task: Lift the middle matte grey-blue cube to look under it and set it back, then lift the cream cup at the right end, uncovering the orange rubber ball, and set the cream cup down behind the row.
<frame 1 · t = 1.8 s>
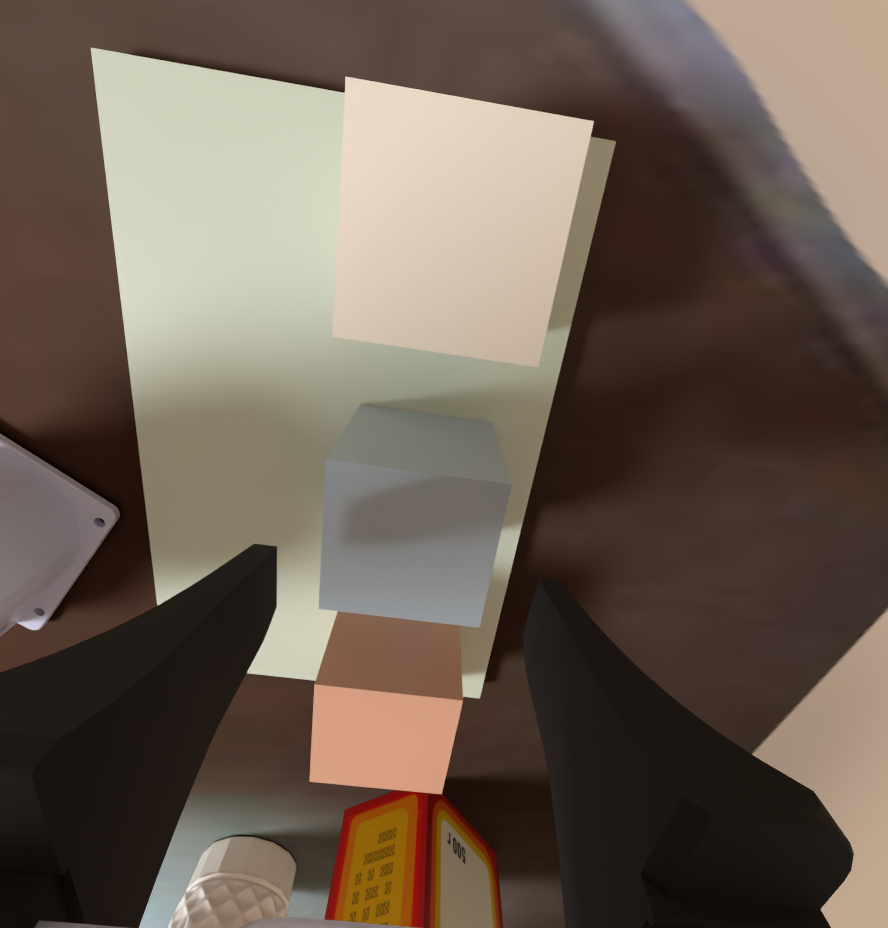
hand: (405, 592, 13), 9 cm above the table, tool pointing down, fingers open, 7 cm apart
terracotta cup: (397, 632, 24), point 1 cm above the table, touching sage board
cream cup: (450, 248, 17), point 1 cm above the table, touching sage board
baking soda box: (423, 829, 32), on the table
sage board: (343, 453, 21), on the table
matte grey-blue cube: (419, 473, 20), point 1 cm above the table, touching sage board
white cup: (251, 859, 34), on the table
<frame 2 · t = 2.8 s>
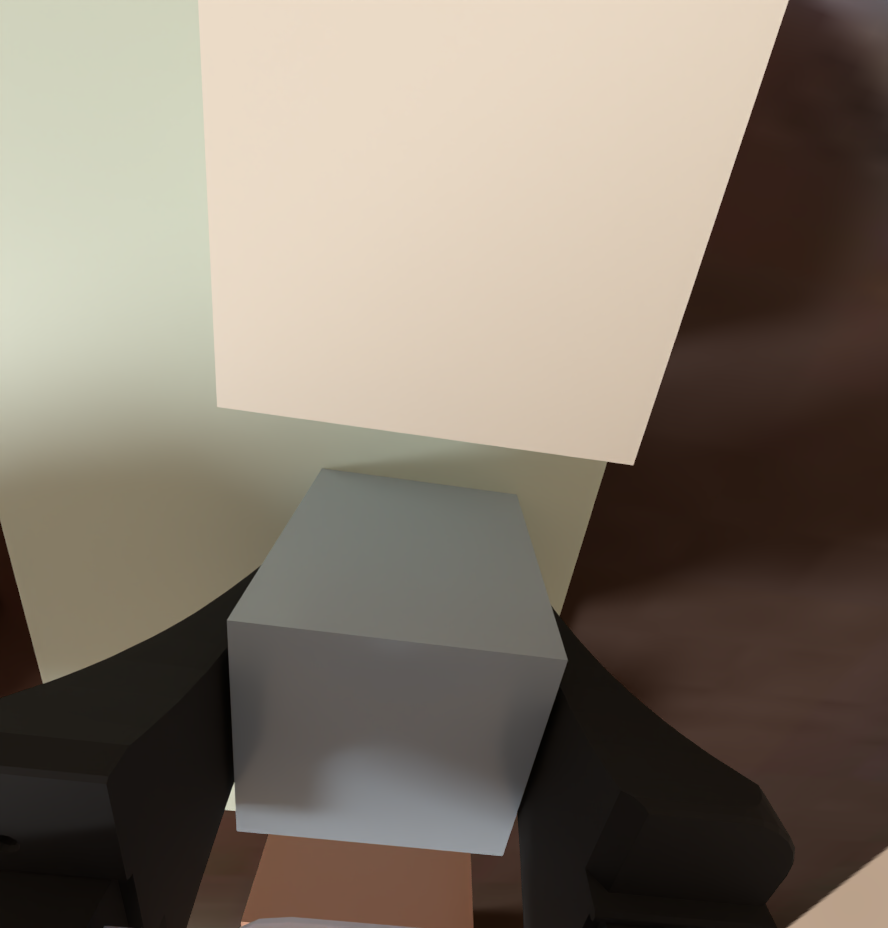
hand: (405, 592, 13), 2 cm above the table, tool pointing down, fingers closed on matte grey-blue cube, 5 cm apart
terracotta cup: (381, 759, 17), point 1 cm above the table, touching sage board
cream cup: (455, 235, 11), point 1 cm above the table, touching sage board
sage board: (302, 530, 15), on the table
matte grey-blue cube: (409, 562, 14), point 1 cm above the table, touching gripper, sage board
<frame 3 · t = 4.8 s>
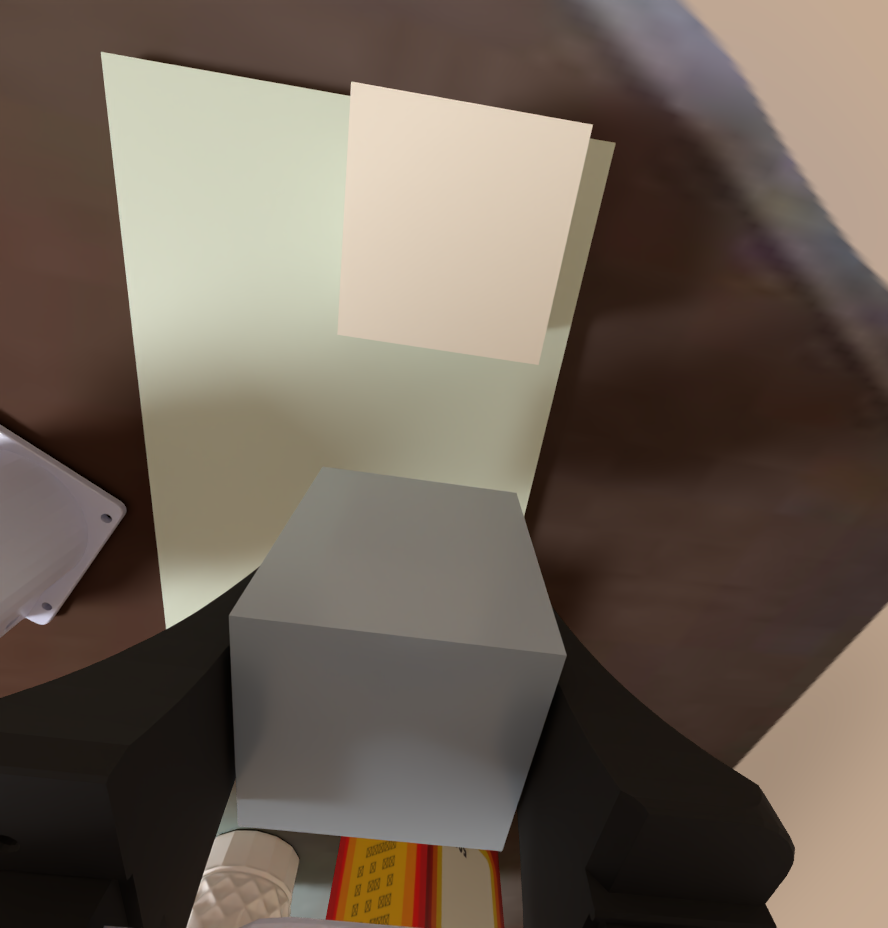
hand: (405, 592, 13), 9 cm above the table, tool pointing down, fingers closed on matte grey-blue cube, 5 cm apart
cream cup: (452, 248, 17), point 1 cm above the table, touching sage board
baking soda box: (424, 823, 32), on the table
sage board: (346, 450, 21), on the table
matte grey-blue cube: (409, 560, 14), point 8 cm above the table, touching gripper
white cup: (254, 853, 34), on the table
when the fingers open (3 cm above the table, at t = 6.8 s): matte grey-blue cube stays where it is, resting on sage board.
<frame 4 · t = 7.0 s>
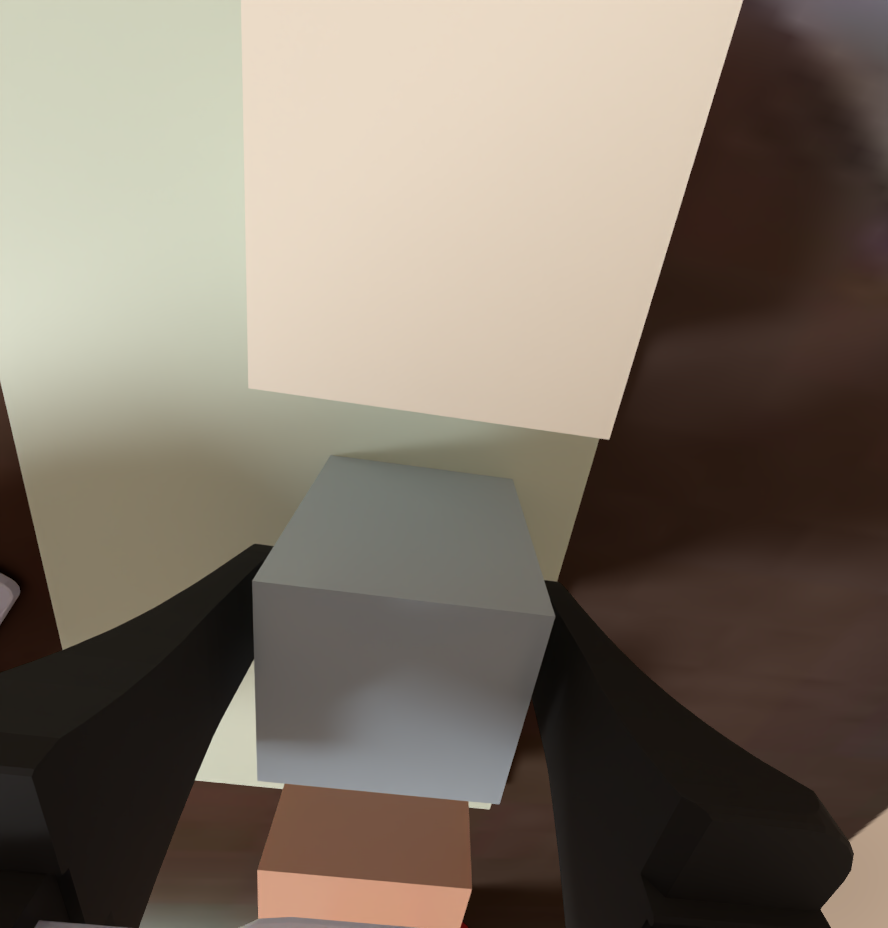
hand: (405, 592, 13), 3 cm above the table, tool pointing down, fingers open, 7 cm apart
terracotta cup: (384, 734, 18), point 1 cm above the table, touching sage board
cream cup: (454, 238, 11), point 1 cm above the table, touching sage board
sage board: (310, 515, 16), on the table
matte grey-blue cube: (412, 544, 15), point 1 cm above the table, touching sage board
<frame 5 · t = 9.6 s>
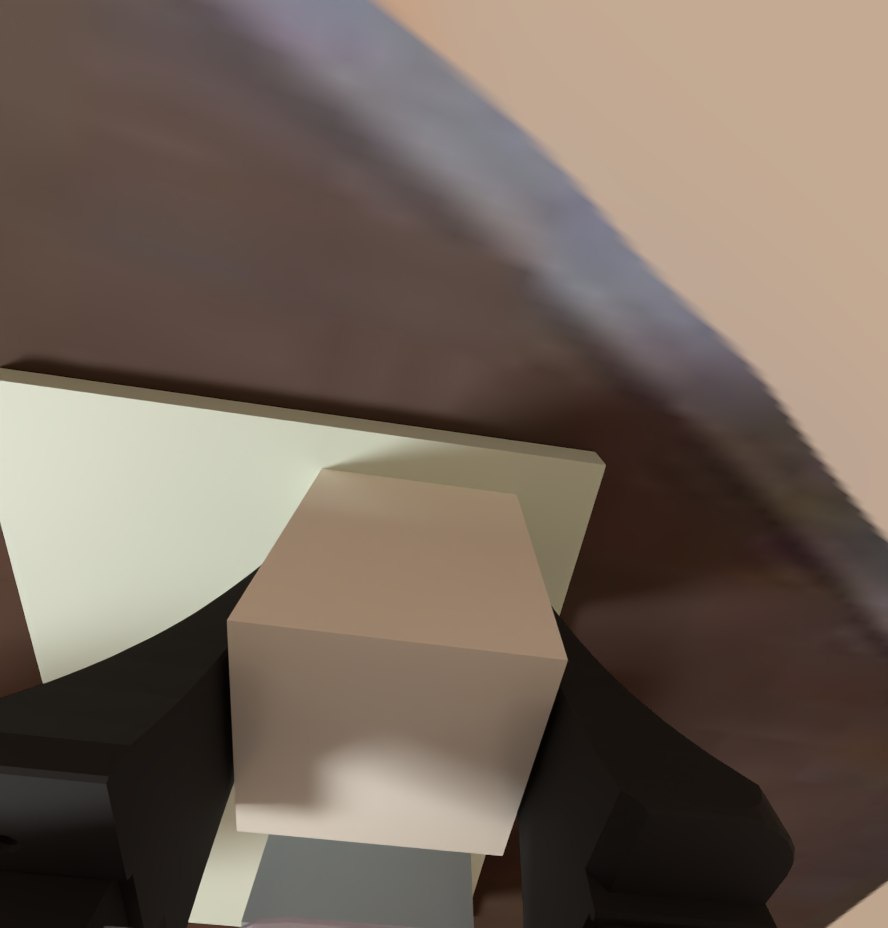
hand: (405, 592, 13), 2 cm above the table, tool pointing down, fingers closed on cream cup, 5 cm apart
cream cup: (409, 562, 14), point 1 cm above the table, touching gripper, sage board
sage board: (296, 725, 18), on the table
matte grey-blue cube: (381, 759, 17), point 1 cm above the table, touching sage board
when the fingers open (3 cm above the table, at t = 14.2 s): cream cup stays where it is, resting on sage board.
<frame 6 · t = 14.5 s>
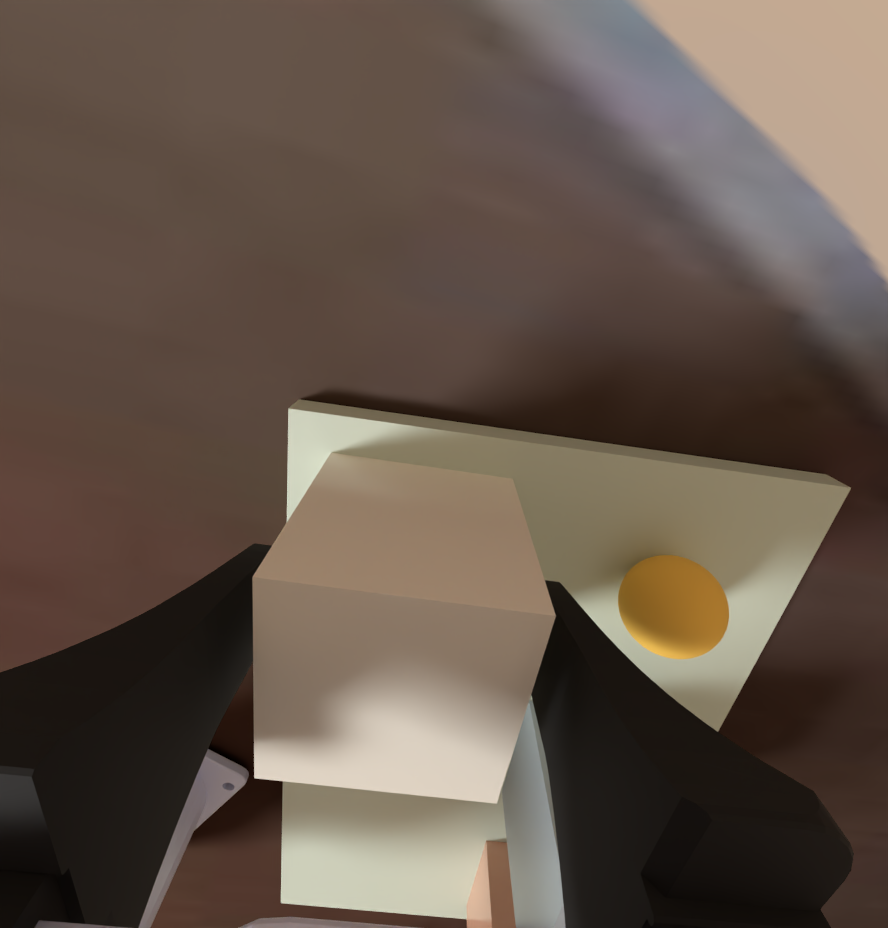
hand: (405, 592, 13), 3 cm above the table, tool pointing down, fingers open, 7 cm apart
terracotta cup: (531, 879, 22), point 1 cm above the table, touching sage board
cream cup: (411, 543, 15), point 1 cm above the table, touching sage board
sage board: (493, 724, 20), on the table
orange ball: (670, 605, 14), point 2 cm above the table, touching sage board
matte grey-blue cube: (580, 755, 19), point 1 cm above the table, touching sage board
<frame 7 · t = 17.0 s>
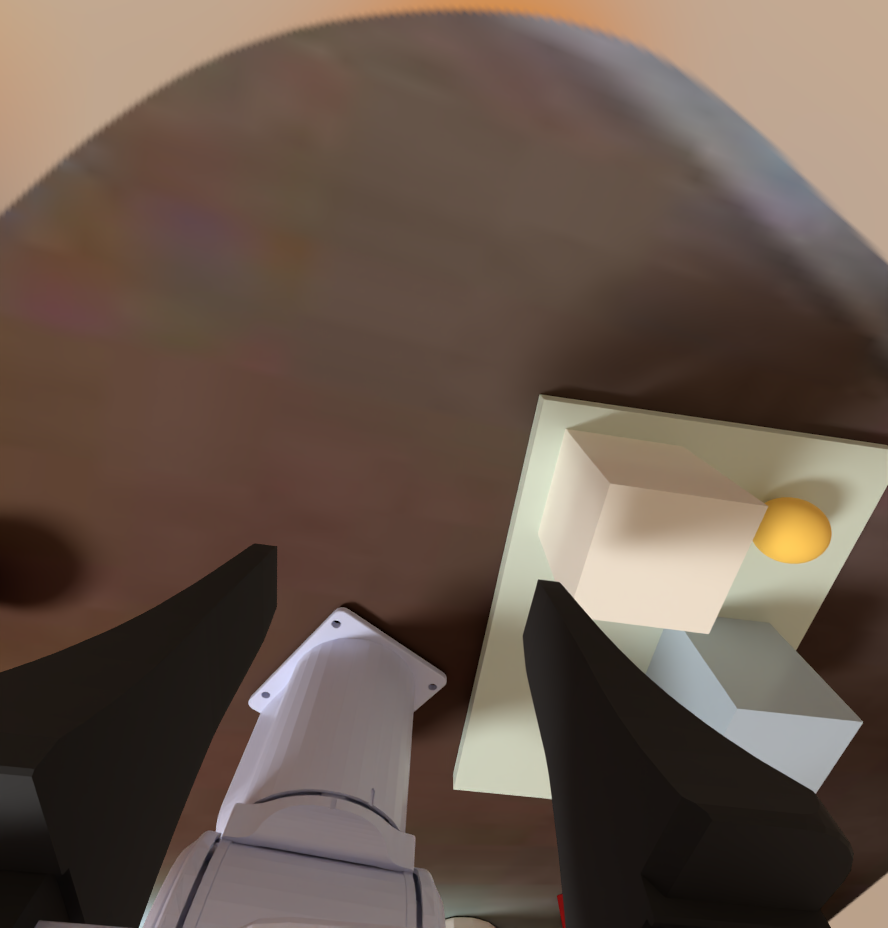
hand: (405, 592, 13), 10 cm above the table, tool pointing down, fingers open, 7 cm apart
cream cup: (607, 491, 22), point 1 cm above the table, touching sage board
sage board: (634, 636, 26), on the table
orange ball: (788, 530, 21), point 2 cm above the table, touching sage board
matte grey-blue cube: (702, 656, 26), point 1 cm above the table, touching sage board
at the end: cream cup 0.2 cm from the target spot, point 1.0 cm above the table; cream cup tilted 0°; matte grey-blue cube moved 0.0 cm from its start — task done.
